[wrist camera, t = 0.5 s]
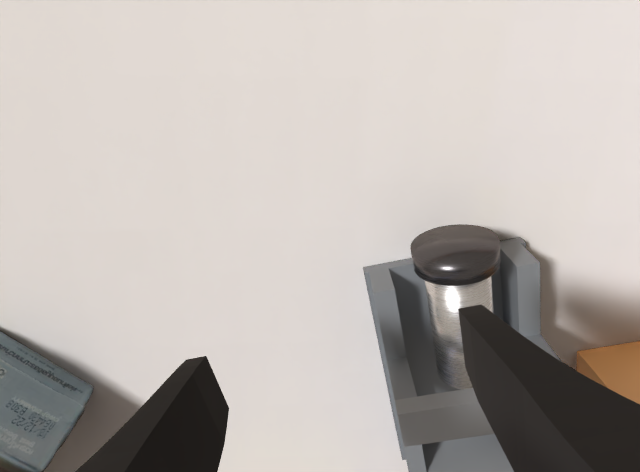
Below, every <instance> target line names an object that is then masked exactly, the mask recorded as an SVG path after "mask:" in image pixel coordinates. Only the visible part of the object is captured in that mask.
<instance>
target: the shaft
mask: <svg viewBox="0 0 640 472" xmlns="http://www.w3.org/2000/svg"><path fill="white" fill-rule="evenodd" d="M411 254H412V261H413V267H414V271H415V273H416V274H417V275H418V276H419V277H420V278H421V279H423V280H425V286H426V294H427V301H428V308H429V315H430V323H431V330H432V337H433V344H434V352H435V359H436V366H437V372H438V375H439V377H440V378H441V379H442V380H443V381H444V382H445V383H446V384H448V385H449V386H451V387H454V388H457V389H461V390H462V389H468V388H473V387H472V384H471V381H470V379H469V376H468V373H467V370H466V368H465V361H464V352H463V344H462V336H461V327H460V319H459V311H458V309H459V308H464V307H470V306H475V305H480V304H481V305H483V306H484V307H486V308H487V309H488V310H490V311H491V312H492V313H494V312H493V296H492V280H491V276H492V275H494V274H495V273H496V272H497V271H498V270H499V268H500V265H501V257H500V239H499V237H498V236H497V234H496V233H494V232H493V231H491V230H489V229H487V228H484V227H480V226H475V225H448V226H442V227H438V228H434V229H431V230H428V231H426V232H424V233H422V234H420V235H419V236H417V237H416V238H415V239H414V240H413V242H412V243H411Z"/></svg>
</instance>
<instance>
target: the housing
mask: <svg viewBox="0 0 640 472" xmlns="http://www.w3.org/2000/svg"><path fill="white" fill-rule="evenodd" d="M500 257H501V265H500V268H499V270H498V271H497V272H496V273H495V274H494V275H492V276H491V280H492V296H493V312H494V314H495V315H496V316H497V317H499V318H500V319H501V320H503V321H504V322H505V323H507V324H508V325H509V326H511V327H512V328H513V329H515V330H516V331H517V332H519V333H520V334H521V335H523V336H524V337H526V338H527V339H528V340H530V341H531V342H533V343H534V344H536V345H537V346H539V347H540V348H542V349H543V350H544V351H546V352H547V353H549V354H550V355H552V356H553V357H555V358H557V359H558V360H560V359H559V358H558V356H557V355H556V354H555V352H554V351H553V350H552V348H551V347H550V346H549V345H548V343H547V342H546V341H545V339H544V338H543V337H542V335H541V325H540V262H539V261H538V260H537V259H536V258H535V257H534V256H533V255H532V254H531V253H530V252H529V251H528V250H527V249H526V242H525V241H524V240H523V239H522V238H514V239H509V240H504V241H500ZM363 270H364V275H365V280H366V285H367V290H368V294H369V299H370V304H371V309H372V314H373V319H374V324H375V329H376V333H377V338H378V343H379V348H380V353H381V358H382V363H383V368H384V372H385V377H386V382H387V387H388V392H389V397H390V402H391V407H392V411H393V416H394V421H395V426H396V431H397V436H398V441H399V446H400V451H401V455H402V460H405V459H406V460H407V465H408V470H409V472H514V471H513V469H512V467H511V465H510V463H509V461H508V459H507V457H506V455H505V453H504V451H503V449H502V447H501V445H500V443H499V441H498V439H497V438H496V436H495V434H494V432H493V430H492V428H491V426H490V424H489V422H488V420H487V418H486V416H485V414H484V412H483V410H482V408H481V406H480V404H479V402H478V400H477V397H476V394H475V392H474V389H473V388H468V389H462V390H461V389H457V388H454V387H451V386H449V385H448V384H446V383H445V382H444V381H443V380H442V379H441V378H440V377H439V375H438V372H437V366H436V359H435V352H434V344H433V337H432V330H431V323H430V315H429V308H428V301H427V294H426V286H425V280H423V279H421V278H420V277H419V276H418V275H417V274H416V273H415V271H414V267H413V261H412V258H410V259H404V260H399V261H394V262H389V263H383V264H378V265H373V266H368V267H363ZM560 361H561V360H560ZM561 362H562V361H561Z"/></svg>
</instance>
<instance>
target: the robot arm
mask: <svg viewBox="0 0 640 472" xmlns="http://www.w3.org/2000/svg"><path fill="white" fill-rule="evenodd" d="M458 311H459V319H460V327H461V336H462V344H463V352H464V361H465V368H466V370H467V373H468V376H469V379H470V381H471V384H472V387H473V389H474V392H475V394H476V397H477V400H478V402H479V404H480V406H481V408H482V410H483V412H484V414H485V416H486V418H487V420H488V422H489V424H490V426H491V428H492V430H493V432H494V434H495V436H496V438H497V439H498V441H499V443H500V445H501V447H502V449H503V451H504V453H505V455H506V457H507V459H508V461H509V463H510V465H511V467H512V469H513V471H514V472H640V404H638V403H636V402H634V401H632V400H630V399H628V398H626V397H624V396H622V395H620V394H618V393H616V392H614V391H612V390H610V389H608V388H607V387H605V386H603V385H601V384H599V383H597V382H595V381H593V380H591V379H590V378H588V377H586V376H584V375H583V374H581V373H579V372H577V371H576V370H574V369H573V368H571V367H569V366H568V365H566V364H564V363H563V362H561V361H560V360H558V359H557V358H555V357H553V356H552V355H550V354H549V353H547V352H546V351H544V350H543V349H542V348H540V347H539V346H537V345H536V344H534V343H533V342H531V341H530V340H528V339H527V338H526V337H524V336H523V335H521V334H520V333H519V332H517V331H516V330H515V329H513V328H512V327H511V326H509V325H508V324H507V323H505V322H504V321H503V320H501V319H500V318H499V317H497V316H496V315H495V314H494V313H492V312H491V311H490V310H488V309H487V308H486V307H484V306H483V305H481V304H480V305H475V306H470V307H464V308H459V309H458ZM228 411H229V407H228V405H227V403H226V401H225V398H224V396H223V394H222V391H221V389H220V387H219V384H218V382H217V380H216V378H215V375H214V373H213V371H212V368H211V366H210V364H209V362H208V359H207V357H206V356H204V357H199V358H193V359H188V360H186V361H185V362H184V363H183V364H181V365H180V366H179V367H178V368H177V370H176V371H175V372H174V373H173V374H172V375H171V376H170V377H169V378H168V379H167V380H166V381H165V382H164V383H163V384H162V386H161V387H160V388H159V389H158V390H157V391H156V392H155V393H154V394H153V395H152V396H151V397H150V399H149V400H148V401H147V402H146V403H145V404H144V405H143V406H142V407H141V408H140V409H139V410H138V411H137V412H136V414H135V415H134V416H133V417H132V418H131V419H130V420H129V421H128V422H127V423H126V424H125V425H124V426H123V427H122V428H121V429H120V430H119V431H118V432H117V433H116V434H115V435H114V436H113V437H112V438H111V439H110V440H109V441H108V442H107V443H106V444H105V445H104V446H103V447H102V448H101V449H100V450H99V451H98V452H96V453H95V454H94V455H93V456H92V457H91V458H90V459H89V460H88V461H87V462H86V463H85V464H83V465H82V466H81V467H80V468H79V469H78V470H77V471H75V472H217V471H218V467H219V463H220V459H221V455H222V451H223V447H224V442H225V435H226V428H227V420H228Z"/></svg>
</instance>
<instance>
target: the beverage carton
mask: <svg viewBox="0 0 640 472" xmlns="http://www.w3.org/2000/svg"><path fill="white" fill-rule="evenodd" d="M93 389H94V388H93V386H92V385H90V384H89V383H87V382H85V381H83V380H81V379H79V378H78V377H76V376H74V375H73V374H71V373H69V372H67V371H66V370H64V369H62V368H61V367H59V366H57V365H56V364H54V363H52V362H51V361H49V360H48V359H46V358H44V357H43V356H41V355H39V354H38V353H36V352H34V351H32V350H31V349H29V348H27V347H26V346H24V345H22V344H21V343H19V342H17V341H16V340H14V339H12V338H11V337H9V336H7V335H6V334H4V333H3V332H1V331H0V472H43V471H44V470H45V469H46V467H47V466H48V465H49V463H50V462H51V460H52V458H53V456H54V455H55V453H56V451H57V450H58V449H59V448H60V447H61V446H62V444H63V443H64V442H65V440H66V439H67V437H68V435H69V434H70V432H71V430H72V429H73V427H74V426H75V424H76V423H77V421H78V420H79V418H80V417H81V415H82V414H83V412H84V409H85V405H86V403H87V402H88V400H89V398H90V396H91V394H92V391H93Z"/></svg>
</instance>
